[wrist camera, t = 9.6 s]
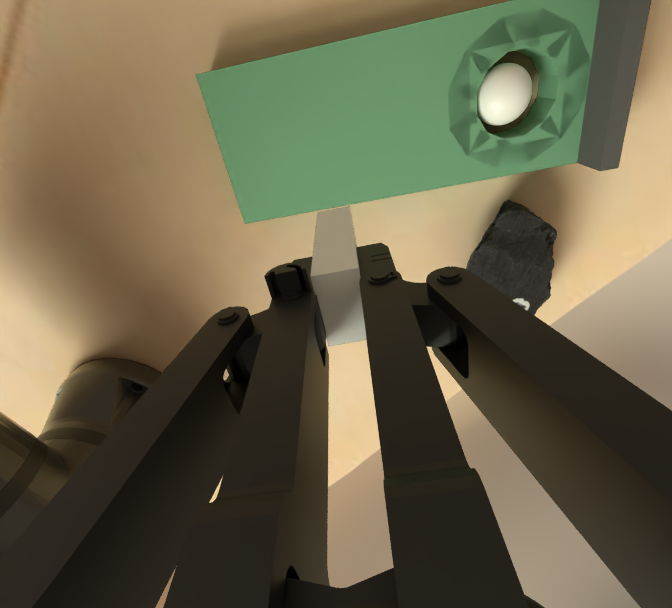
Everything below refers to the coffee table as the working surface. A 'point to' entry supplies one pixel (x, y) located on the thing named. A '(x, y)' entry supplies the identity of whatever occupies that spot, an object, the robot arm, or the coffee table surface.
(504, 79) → the ball
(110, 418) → the robot arm
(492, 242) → the mineral
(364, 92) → the green
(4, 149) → the coffee table surface
